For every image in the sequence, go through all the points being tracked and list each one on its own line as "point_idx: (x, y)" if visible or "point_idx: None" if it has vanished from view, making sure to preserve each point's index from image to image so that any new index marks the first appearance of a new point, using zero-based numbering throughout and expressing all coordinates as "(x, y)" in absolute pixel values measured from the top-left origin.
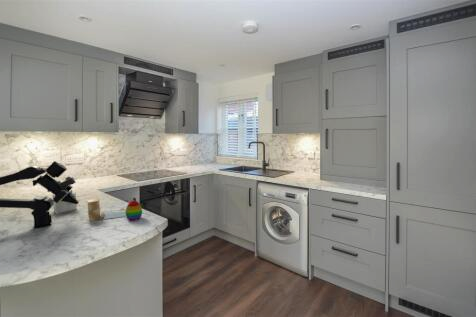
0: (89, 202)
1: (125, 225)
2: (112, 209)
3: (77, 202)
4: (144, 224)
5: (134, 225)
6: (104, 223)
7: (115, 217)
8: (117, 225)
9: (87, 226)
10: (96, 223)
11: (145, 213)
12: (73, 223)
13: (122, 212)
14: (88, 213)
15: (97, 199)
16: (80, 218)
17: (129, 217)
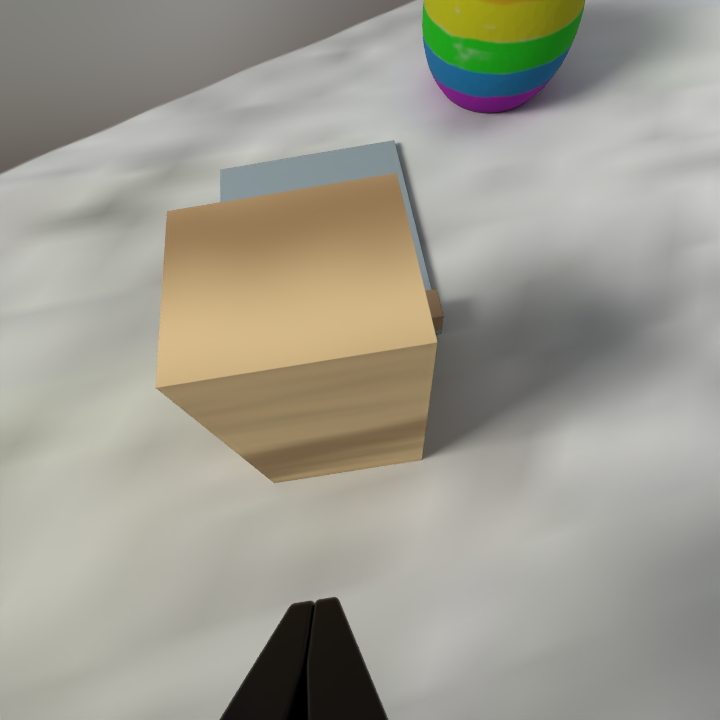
0: (429, 311)
1: (666, 107)
2: (38, 305)
3: (344, 621)
4: (655, 12)
5: (673, 57)
6: (574, 269)
7: (409, 210)
8: (658, 157)
9: (659, 412)
10: (558, 344)
11: (354, 44)
12: (491, 650)
13: (248, 187)
14: (424, 427)
15: (233, 220)
16: (260, 613)
17: (559, 66)
